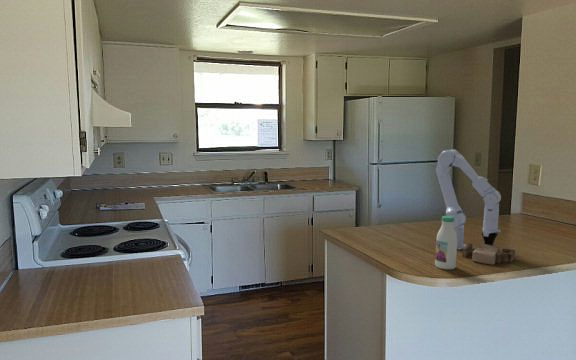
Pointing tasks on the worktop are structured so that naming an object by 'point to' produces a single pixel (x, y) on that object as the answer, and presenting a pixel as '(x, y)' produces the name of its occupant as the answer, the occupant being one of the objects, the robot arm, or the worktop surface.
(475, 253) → the brick
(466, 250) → the tunnel
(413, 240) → the worktop surface
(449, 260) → the milk bottle
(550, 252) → the worktop surface
